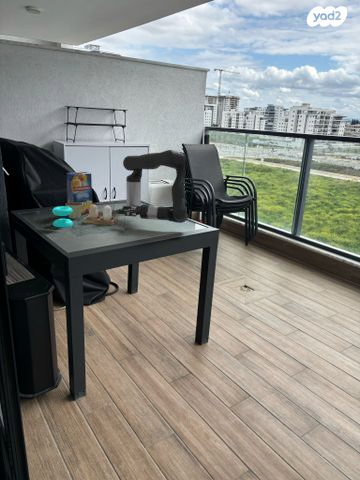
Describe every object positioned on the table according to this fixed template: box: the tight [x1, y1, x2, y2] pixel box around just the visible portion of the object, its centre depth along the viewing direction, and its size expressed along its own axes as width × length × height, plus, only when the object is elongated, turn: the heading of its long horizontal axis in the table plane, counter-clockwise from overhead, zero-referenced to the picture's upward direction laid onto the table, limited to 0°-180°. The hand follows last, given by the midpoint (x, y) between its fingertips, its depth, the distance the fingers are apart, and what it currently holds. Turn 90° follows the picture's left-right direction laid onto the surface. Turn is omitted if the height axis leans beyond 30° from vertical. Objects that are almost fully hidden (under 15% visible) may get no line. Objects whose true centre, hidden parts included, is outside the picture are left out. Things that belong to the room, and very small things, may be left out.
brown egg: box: [88, 203, 99, 220], centre depth 201 cm, size 5×5×9 cm
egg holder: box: [82, 214, 118, 226], centre depth 202 cm, size 9×17×3 cm, turn 80°
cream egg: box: [102, 205, 113, 221], centre depth 200 cm, size 5×5×9 cm
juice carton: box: [66, 171, 93, 215], centre depth 217 cm, size 12×8×24 cm, turn 132°
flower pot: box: [65, 202, 83, 220], centre depth 208 cm, size 9×9×9 cm
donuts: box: [52, 205, 74, 228], centre depth 193 cm, size 10×10×10 cm
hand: (120, 209), depth 198 cm, fingers open, 8 cm apart
